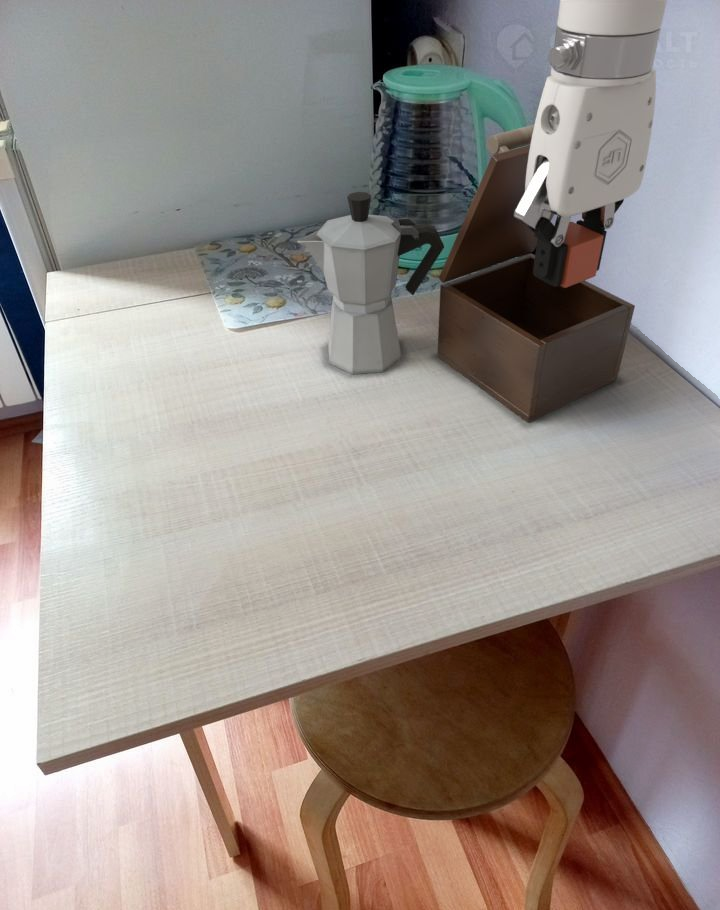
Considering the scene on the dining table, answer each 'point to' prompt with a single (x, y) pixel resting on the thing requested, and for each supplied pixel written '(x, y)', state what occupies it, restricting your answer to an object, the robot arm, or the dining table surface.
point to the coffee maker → (367, 281)
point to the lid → (495, 210)
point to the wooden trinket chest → (531, 336)
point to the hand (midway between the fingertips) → (565, 271)
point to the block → (581, 254)
